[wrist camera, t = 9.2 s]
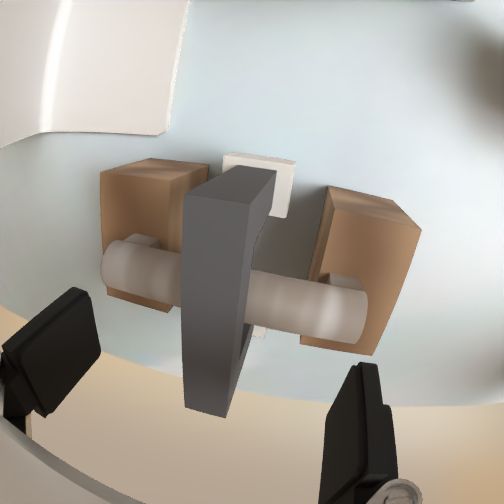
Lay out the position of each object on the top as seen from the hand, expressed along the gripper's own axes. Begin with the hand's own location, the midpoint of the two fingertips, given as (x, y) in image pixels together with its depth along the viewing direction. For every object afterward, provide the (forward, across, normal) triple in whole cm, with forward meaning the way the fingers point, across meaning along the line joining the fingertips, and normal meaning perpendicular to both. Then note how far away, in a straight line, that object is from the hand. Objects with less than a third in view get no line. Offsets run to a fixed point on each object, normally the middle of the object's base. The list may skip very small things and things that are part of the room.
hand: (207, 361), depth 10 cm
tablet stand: (+13, +17, -18) cm, 28 cm away
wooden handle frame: (+13, +1, 0) cm, 13 cm away
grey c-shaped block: (+10, +1, 0) cm, 10 cm away
